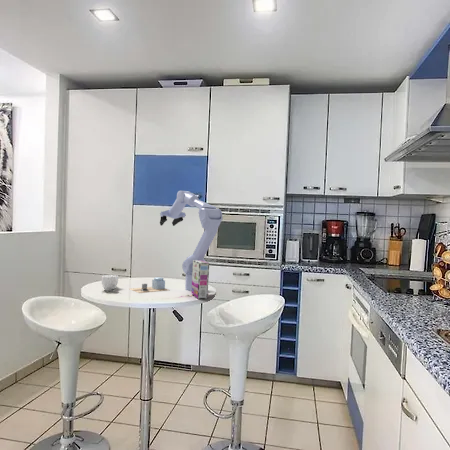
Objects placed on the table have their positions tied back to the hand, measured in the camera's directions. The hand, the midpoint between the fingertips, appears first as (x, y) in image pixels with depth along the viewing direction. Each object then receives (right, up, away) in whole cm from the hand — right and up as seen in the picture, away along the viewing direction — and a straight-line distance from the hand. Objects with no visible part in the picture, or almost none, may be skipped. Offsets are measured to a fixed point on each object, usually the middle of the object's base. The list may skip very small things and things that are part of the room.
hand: (166, 224), depth 215 cm
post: (-7, -32, -29) cm, 44 cm away
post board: (-5, -32, -26) cm, 42 cm away
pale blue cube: (-1, -31, -22) cm, 38 cm away
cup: (-24, -32, -25) cm, 47 cm away
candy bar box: (+20, -34, -33) cm, 51 cm away
